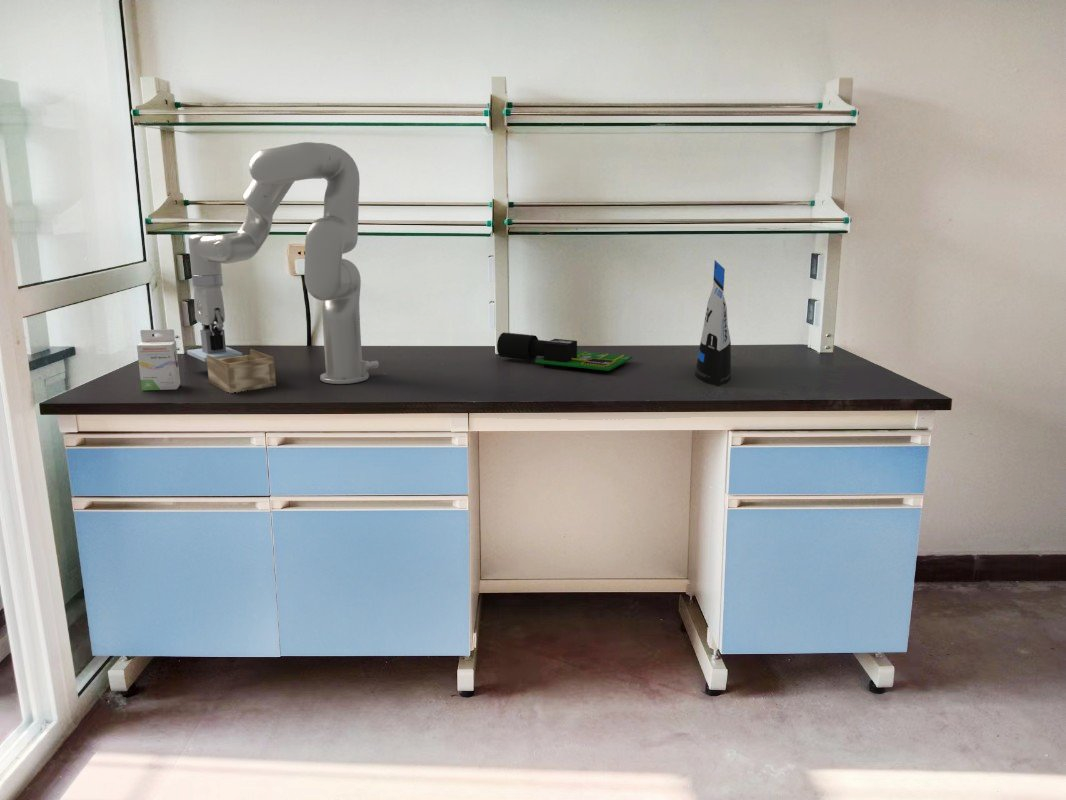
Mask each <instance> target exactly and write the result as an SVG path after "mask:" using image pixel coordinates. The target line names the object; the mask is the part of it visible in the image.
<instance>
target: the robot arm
mask: <svg viewBox="0 0 1066 800" xmlns="http://www.w3.org/2000/svg"><path fill="white" fill-rule="evenodd" d="M248 165H249V168H248V169H249V174H250V176H251V178H252V180H251V182H250V184H249V185H248V187H247V188H246V190H245V191H244V193H243V195H242V200H243V203H244V204H245V206H246V207H247V209H248V212H247V216H246V218H245V220H244V221H243V223H242V224H241V226H240V227H239V229H238V230H237V231H236V232H229V233H224V234H222V233H221V234H214V233H195V234H191V235H190V236H189V237H188V239H187V240H188V249H189V251H188V252H189V260H190V268H191V271H190V272H191V281H192V288H193V305H194V319H195V321H196V322H198V323H199V324H201V326H202V327H201V328H202V329H201V330H204V329H210V332H211V336H210V344H211V350H221V349H223V337H222V334H223V333H222V329H223V328H224V323H225V321H226V314H225V305H224V299H223V292H222V287H224V282H223V270H222V264H233V263H238V262H243V261H244V262H245V261H249V260H250V259H252V258H253V257H255V255H256V254H257V253H258V252H259V250H260V249H261V248H262V246H263V245H264V243H265V242H266V240H267V238H268V236H269V234H270V232H271V229H272V224H273V221H274V219H273V217H274V214H275V212H276V211H277V209H278V207H279V206H280V204H281V203H282V201H283V199H284V198H285V196H287V195H286V194H287V193H289V190H290V189H291V187H292V186H293V185H294V183H295V182H299V181H303V180H313V179H316V180H318V179H324V180H326V182H327V184H326V188H325V193H324V196H323V197H324V199H323V216H322V217H320V218H317V219H316V220H314V221H312V223H311V224H310V225H309V227H308V228H307V231H306V234H305V241H304V242H305V243H304V285H305V287H306V290H307V292H308V293H309V294H310V296H312V297H313V298H314V299H315V300H317V301H322V307H321V308H322V309H321V310H322V312H321V313H322V314H321V316H322V331H323V345H324V346H323V349H324V361H325V362H324V363H325V372H324V373H322V374H320V375H319V377H320V379H319V380H320V381H322V382H323V383H326V384H332V385H333V384H334V385H335V384H336V385H346V384H354V383H355V384H356V383H361V382H364V381H367V380H368V379H369V378H370V375H369V372H368V371H369V370H370V369H377V368H379V366H380V364H379V361H378V360H372V361H369V360H364V359H363V354H362V353H363V352H362V336H361V333H362V332H361V317H360V315H361V314H360V310H361V309H360V297H361V286H362V284H361V282H362V280H361V275H360V271H359V269H358V267H357V266H356V264H354V262H352V261H351V260H348V259H346V258H343V255H344V254H348V253H350V252H352V251H353V250H354V249H355V248H356V246H357V244H358V239H359V237H358V236H359V212H360V210H359V209H360V208H359V206H360V205H359V202H360V201H359V199H360V198H359V197H360V171H359V169H358V165H357V163H356V162H355V160H354V158H353V157H352V156H351V155H350V154H349V153H348V152H347V151H345V150H344V149H343V148H341V147H339V146H336V145H334V144H330V143H324V142H312V141H311V142H309V141H308V142H306V141H304V142H298V143H292V144H288V145H282V146H277V147H271V148H266V149H261V150H259V151H257V152H256V153H255V154H254V155H253V156H252V158H251V159H250V161H249V164H248ZM223 330H224V329H223Z"/></svg>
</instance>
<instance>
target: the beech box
mask: <svg viewBox="0 0 1066 800" xmlns="http://www.w3.org/2000/svg"><path fill="white" fill-rule="evenodd" d="M249 353H250V354H245V355H242V356H237V357H230V358H223V359H216V358H214V357H212V356H209V355H206V357H207V362H206V367H207V376H208V383H209V384H210V385H212V386H214V387H216V388H218V389H221V390H222V391H224V392H226V393H228V392H229V394H234V392H236V393H241V391H242V392H248V391H252V390H258V389H265V388H270V387H276V386H277V381H276V370H275V358H274V357H273V356H272V355H269V354H266V353H263V352H260V351H257V350H255V349H252V348H250V349H249ZM247 390H248V391H247Z"/></svg>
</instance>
